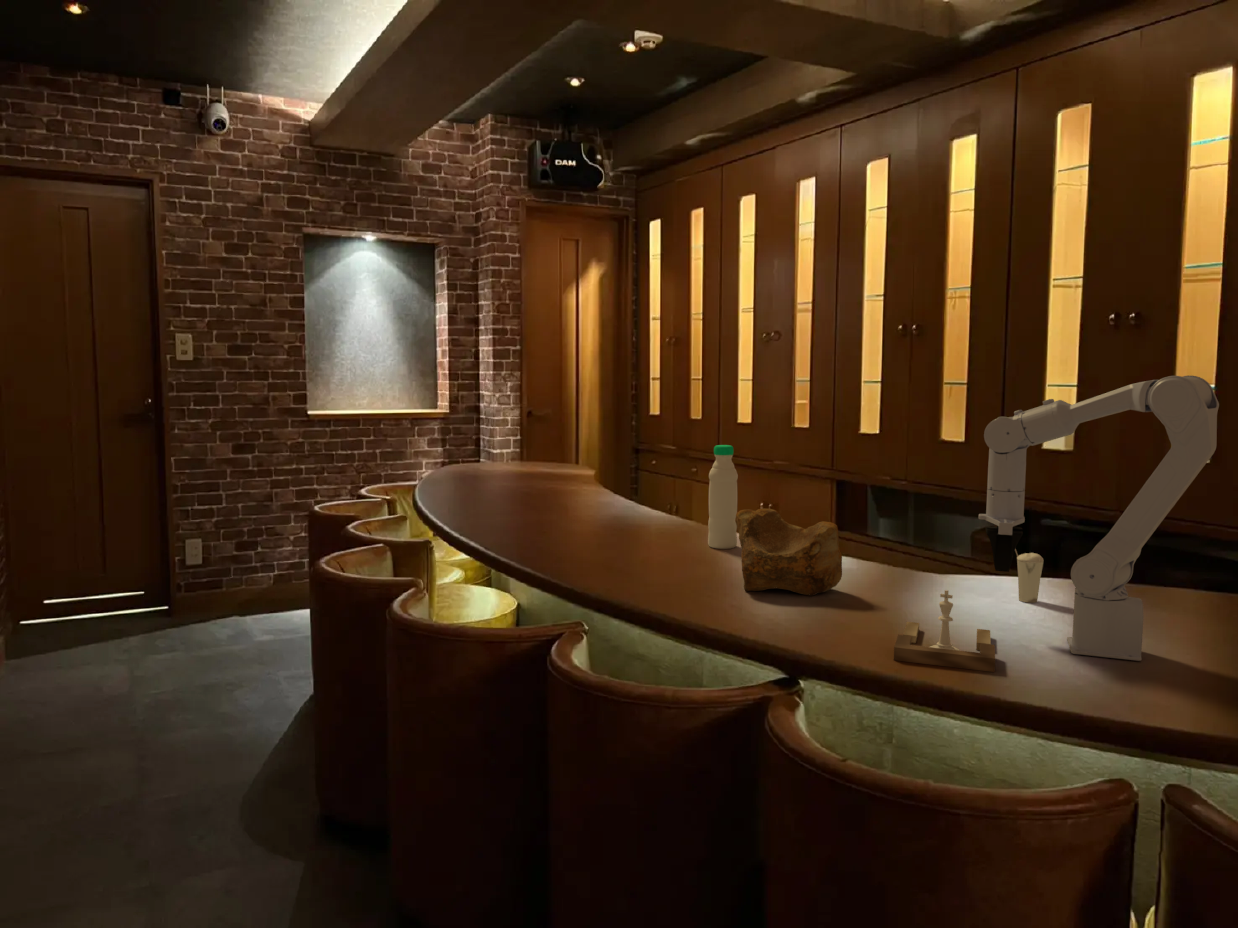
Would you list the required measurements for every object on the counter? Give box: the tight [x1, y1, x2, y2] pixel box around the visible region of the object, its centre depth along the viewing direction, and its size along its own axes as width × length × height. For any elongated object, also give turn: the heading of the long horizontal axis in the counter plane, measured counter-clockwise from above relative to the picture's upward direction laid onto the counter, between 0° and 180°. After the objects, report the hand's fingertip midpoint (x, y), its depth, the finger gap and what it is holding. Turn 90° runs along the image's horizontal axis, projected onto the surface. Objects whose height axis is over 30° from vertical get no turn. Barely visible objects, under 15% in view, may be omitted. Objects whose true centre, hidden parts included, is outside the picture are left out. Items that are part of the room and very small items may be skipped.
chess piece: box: [929, 589, 961, 651], centre depth 137 cm, size 5×5×10 cm
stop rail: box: [893, 634, 996, 673], centre depth 135 cm, size 14×7×2 cm, turn 68°
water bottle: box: [707, 444, 739, 550], centre depth 219 cm, size 7×7×25 cm
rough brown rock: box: [735, 508, 843, 596], centre depth 178 cm, size 23×17×15 cm
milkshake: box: [1014, 547, 1044, 604], centre depth 169 cm, size 4×5×10 cm
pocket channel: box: [902, 621, 992, 651], centre depth 145 cm, size 13×8×1 cm, turn 68°
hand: (1002, 570), depth 149 cm, fingers closed
